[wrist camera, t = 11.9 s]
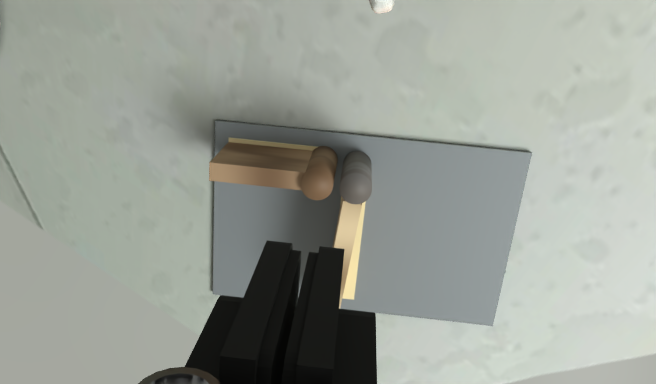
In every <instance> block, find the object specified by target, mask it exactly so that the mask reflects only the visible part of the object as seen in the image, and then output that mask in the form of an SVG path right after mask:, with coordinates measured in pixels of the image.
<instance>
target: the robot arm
mask: <svg viewBox="0 0 656 384" xmlns="http://www.w3.org/2000/svg"><path fill="white" fill-rule="evenodd" d="M0 28H1V20H0ZM343 260H344V249H341V248H332V247H322V246H320V247H319V252H318V253H316V252H309V254H308V258H307V262H306V267H305V271H304V275H303V280H302V284H301V289H300V293H299V280H300V267H301V251H298V250H293V245H292V243H286V242H277V241H268V240H267V241H266V244H265V246H264V248H263V251H262V253H261V256H260V258H259V261H258V263H257V266H256V268H255V270H254V273H253V275H252V278H251V280H250V283H249V285H248V288H247V290H246V293H245V295H244V297H234V296H225V295H221V296H220V297H219V298H218V300H217V302H216V304H215V306H214V308H213V310H212V312H211V314H210V316H209V318H208V320H207V322H206V324H205V327H204V329H203V331H202V333H201V335H200V337H199V339H198V341H197V343H196V345H195V347H194V349H193V351H192V353H191V355H190V357H189V359H188V361H187V363H186V365H185V367H179V368H169V369H166V370H162V371H159V372H156V373H154V374H152V375H150V376H148V377H146V378H144V379H143V380H142V381H141V382H140V383H138V384H377V365H376V317H375V312H366V311H357V310H348V309H340V308H339V303H340V292H341V281H342V271H343ZM298 293H299V297H298Z"/></svg>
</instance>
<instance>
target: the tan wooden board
mask: <svg viewBox="0 0 656 384" xmlns="http://www.w3.org/2000/svg"><path fill="white" fill-rule="evenodd" d="M339 191H340V195H341V197H342V200H341V205H340V211H339V216H338V221H337V226H336V231H335V236H334V241H333V246H332V248H341V249H344V260H343V271H342V281H341V292H340V303H339V308H340V307H341V302H342V297H343V293H344V288H345V283H346V278H347V274H348V269H349V264H350V260H351V255H352V250H353V245H354V241H355V236H356V231H357V227H358V222H359V217H360V212H361V208H362V203H364V202H365V201H367V200H368V199H369V197H370V195H371V193H372V163H371V160H370V158H369V156H368V155H367V154H365V153H364V152H361V151H354V152H351V153H349V154H348V155H347V156H346V157H345V158H344V161H343V167H342V173H341V180H340V187H339Z"/></svg>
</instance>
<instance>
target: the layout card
mask: <svg viewBox="0 0 656 384" xmlns="http://www.w3.org/2000/svg"><path fill="white" fill-rule="evenodd" d="M228 142H234V143H243V144H253V145H263V146H272V147H282V148H292V149H301V150H311V151H313V150H314V149H316V148H317V147H319V146H327V147H330V148H332V149H333V150H334V151H335V152H336V154H337V158H338V162H337V167H336V173H335V178H334V184H333V189H332V192H331V193H330V195H329V196H328V197H326V198H325V199H322V200H312V199H310V198H308V197H307V196H305V195H304V193H303V192H302V190H293V189H284V188H274V187H265V186H256V185H246V184H237V183H227V182H218V181H214V242H213V294H215V295H225V296H234V297H244V295H245V293H246V290H247V288H248V285H249V283H250V280H251V278H252V275H253V273H254V270H255V268H256V266H257V263H258V261H259V258H260V256H261V253H262V251H263V248H264V246H265V244H266V241H267V240H268V241H277V242H286V243H292V245H293V250H298V251H301V267H300V280H299V293H300V289H301V284H302V280H303V275H304V271H305V267H306V262H307V258H308V254H309V252H316V253H318V252H319V247H320V246H322V247H332V246H333V241H334V236H335V231H336V226H337V221H338V216H339V211H340V205H341V200H342V197H341V195H340V191H339V187H340V180H341V173H342V167H343V161H344V158H345V157H346V156H347V155H348V154H349V153H351V152H354V151H361V152H364V153H365V154H367V155H368V156H369V158H370V160H371V163H372V193H371V195H370V197H369V199H368V200H367V201H365V202H364V203H362V208H361V212H360V217H359V222H358V227H357V231H356V236H355V241H354V245H353V250H352V255H351V260H350V264H349V269H348V274H347V278H346V283H345V288H344V293H343V297H342V302H341V307H340V309H348V310H357V311H366V312H375V313H383V314H391V315H400V316H409V317H418V318H427V319H435V320H444V321H453V322H462V323H471V324H479V325H488V326H493V322H494V318H495V313H496V309H497V304H498V300H499V296H500V291H501V287H502V282H503V278H504V274H505V269H506V265H507V260H508V256H509V252H510V247H511V243H512V238H513V234H514V230H515V225H516V221H517V216H518V212H519V208H520V203H521V199H522V194H523V190H524V186H525V181H526V177H527V172H528V168H529V164H530V159H531V155H532V153H531V152H526V151H516V150H507V149H497V148H487V147H477V146H467V145H458V144H448V143H438V142H428V141H418V140H409V139H399V138H389V137H379V136H369V135H360V134H350V133H340V132H330V131H320V130H311V129H301V128H291V127H281V126H271V125H262V124H252V123H242V122H232V121H222V120H216V121H215V156H216V155H217V154H218V153H219V152H220V151H221V150H222V148H223V147H224V146H225V145H226V144H227V143H228ZM299 293H298V297H299Z"/></svg>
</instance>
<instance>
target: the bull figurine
mask: <svg viewBox="0 0 656 384" xmlns="http://www.w3.org/2000/svg"><path fill="white" fill-rule="evenodd" d="M369 2H370V5H371V8H372V9H373V11H374V12H375V13H386V12H389V11H390V10H392V7H393V5H394V0H369Z"/></svg>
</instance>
